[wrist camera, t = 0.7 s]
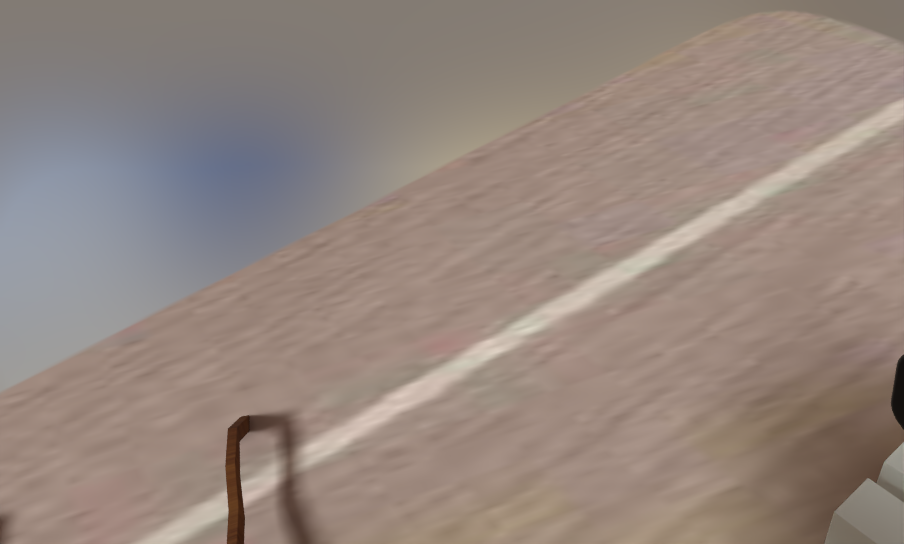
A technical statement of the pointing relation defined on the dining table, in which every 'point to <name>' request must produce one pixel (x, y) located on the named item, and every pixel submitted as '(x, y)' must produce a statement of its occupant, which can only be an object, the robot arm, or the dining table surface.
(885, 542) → the socket block
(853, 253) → the dining table surface
